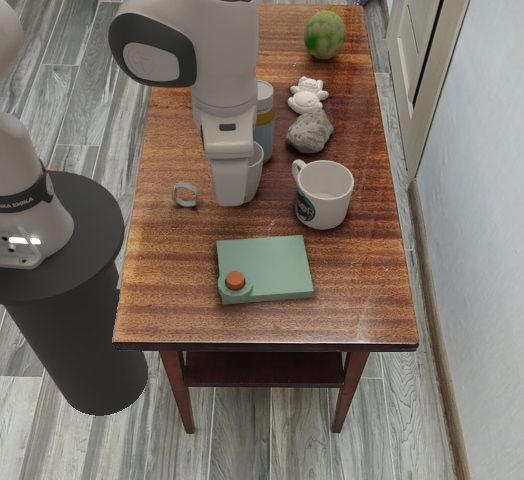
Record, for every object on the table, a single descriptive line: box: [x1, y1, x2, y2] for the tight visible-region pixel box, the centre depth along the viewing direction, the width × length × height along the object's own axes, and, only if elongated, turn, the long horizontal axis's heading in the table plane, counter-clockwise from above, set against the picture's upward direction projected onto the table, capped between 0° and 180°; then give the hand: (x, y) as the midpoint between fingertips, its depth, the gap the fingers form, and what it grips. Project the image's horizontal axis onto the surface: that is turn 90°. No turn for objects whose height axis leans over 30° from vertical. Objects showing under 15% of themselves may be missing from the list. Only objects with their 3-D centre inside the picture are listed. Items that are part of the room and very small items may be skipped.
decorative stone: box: [285, 109, 335, 154], centre depth 116 cm, size 12×11×5 cm
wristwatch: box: [171, 181, 200, 208], centre depth 105 cm, size 3×5×5 cm, turn 81°
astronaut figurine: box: [287, 76, 330, 115], centre depth 124 cm, size 9×12×3 cm
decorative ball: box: [303, 10, 347, 60], centre depth 129 cm, size 10×10×10 cm
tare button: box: [226, 271, 244, 290], centre depth 93 cm, size 3×3×2 cm
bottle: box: [253, 79, 276, 164], centre depth 108 cm, size 7×7×15 cm
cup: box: [242, 141, 264, 204], centre depth 105 cm, size 8×8×10 cm
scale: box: [216, 234, 315, 305], centre depth 97 cm, size 16×14×4 cm
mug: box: [291, 159, 355, 231], centre depth 104 cm, size 13×10×8 cm
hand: (226, 184), depth 86 cm, fingers closed
